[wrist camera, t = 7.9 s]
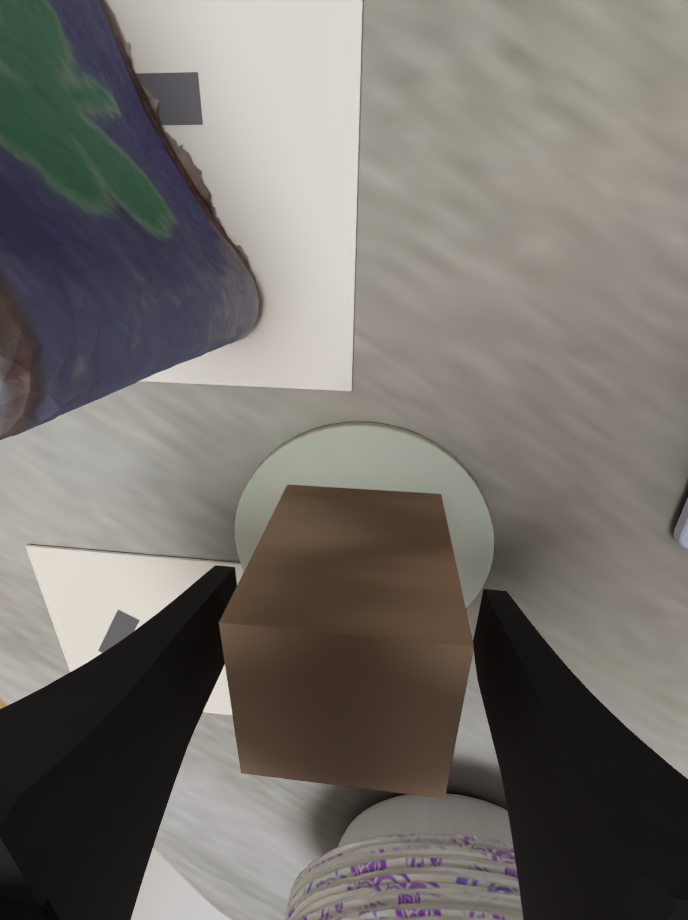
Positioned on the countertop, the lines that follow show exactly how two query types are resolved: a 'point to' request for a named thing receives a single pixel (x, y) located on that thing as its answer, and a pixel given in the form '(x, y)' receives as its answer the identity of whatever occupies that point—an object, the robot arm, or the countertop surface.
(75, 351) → the flask
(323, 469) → the plate
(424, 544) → the walnut block
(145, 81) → the code tile
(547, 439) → the countertop surface
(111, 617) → the code tile
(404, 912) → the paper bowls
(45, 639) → the countertop surface
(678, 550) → the countertop surface
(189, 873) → the countertop surface
